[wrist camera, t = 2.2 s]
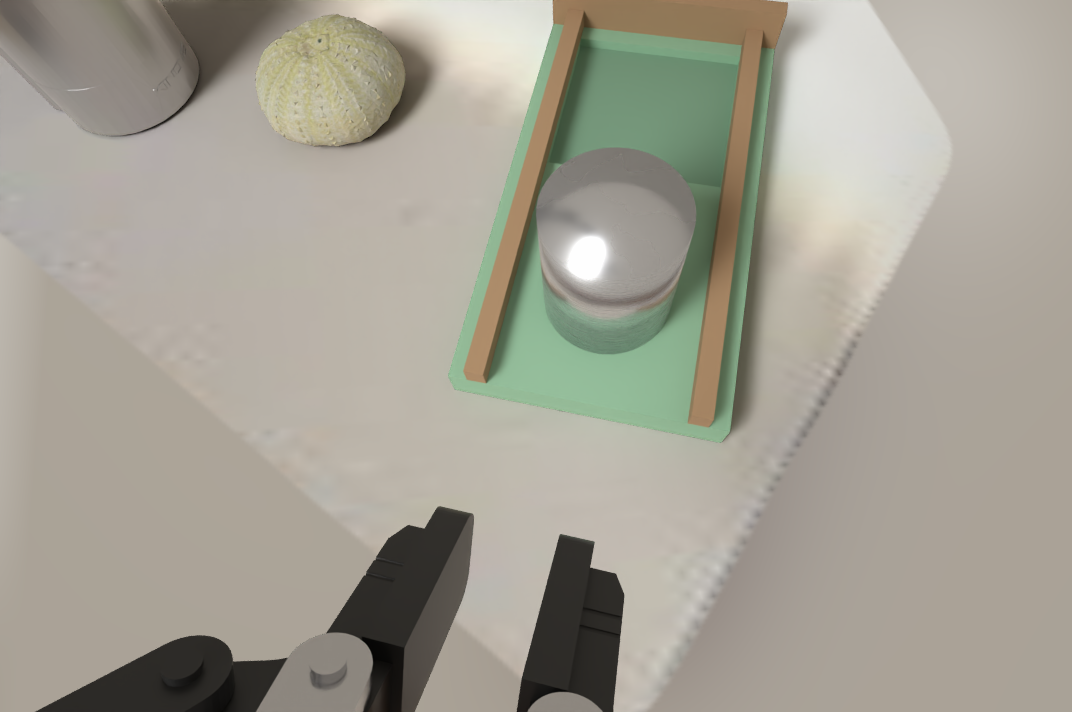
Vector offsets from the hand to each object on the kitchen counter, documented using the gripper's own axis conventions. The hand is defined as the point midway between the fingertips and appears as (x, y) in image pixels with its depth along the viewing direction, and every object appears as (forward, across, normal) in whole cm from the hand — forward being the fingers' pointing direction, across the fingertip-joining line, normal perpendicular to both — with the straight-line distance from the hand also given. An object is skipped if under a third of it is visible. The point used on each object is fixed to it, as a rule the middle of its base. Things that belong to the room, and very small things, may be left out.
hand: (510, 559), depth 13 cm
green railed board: (+28, 0, -3) cm, 28 cm away
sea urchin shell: (+32, +20, -6) cm, 38 cm away
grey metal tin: (+22, 0, +1) cm, 22 cm away
